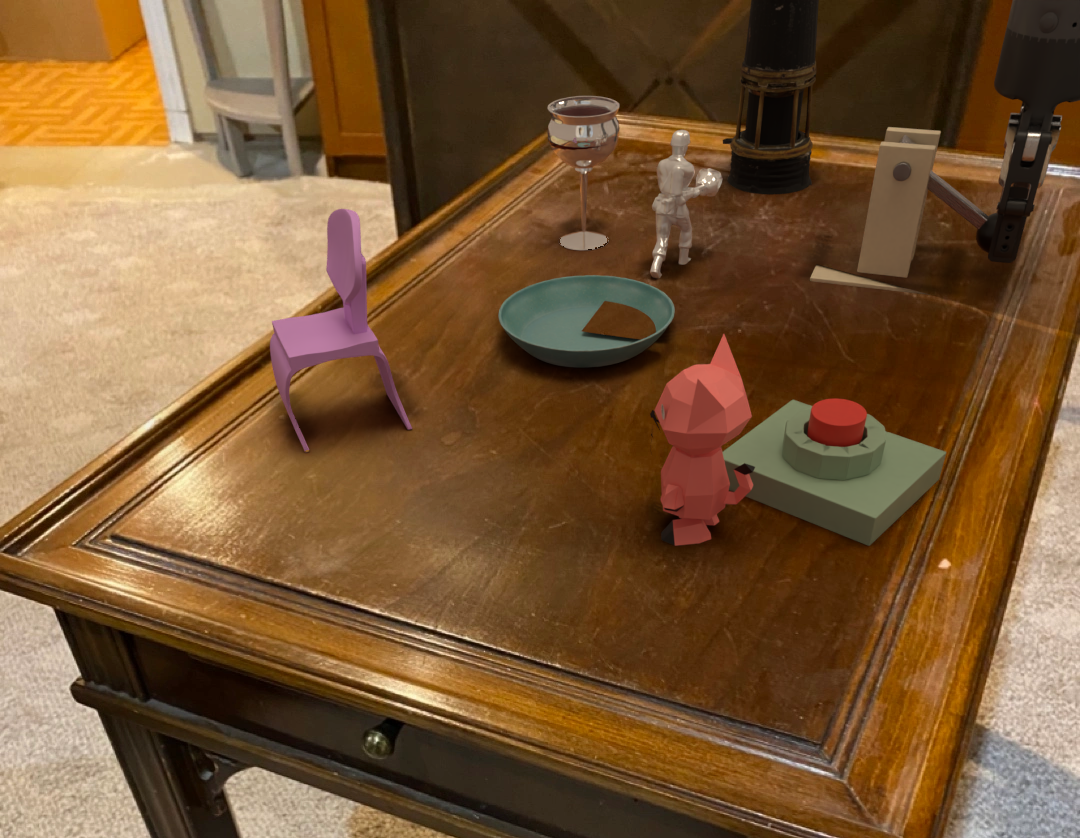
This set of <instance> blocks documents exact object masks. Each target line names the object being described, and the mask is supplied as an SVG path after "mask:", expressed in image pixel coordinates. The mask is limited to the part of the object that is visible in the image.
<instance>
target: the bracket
mask: <svg viewBox="0 0 1080 838" xmlns="http://www.w3.org/2000/svg"><path fill="white" fill-rule="evenodd" d="M941 133H942V131H941V130H935V129H934V130H932V129H920V128H918V129H917V128H907V127H894V126H893V127H892V126H888V127H887V129H886V131H885V136H884V140H883V141H881V142H880V144H879V148H878V153H877V159H876V165H875V170H874V175H873V181H872V186H871V193H870V197H869V203H868V208H867V213H866V220H865V226H864V229H863V235H862V242H861V248H860V253H859V258H858V264H857V270H856V272H857V273H861V274H871V275H872V274H873V275H881V276H887V277H898V278H906V279H907V278H908V276H909V272H910V268H911V263H912V261H914V257H915V253H916V249H917V244H918V239H919V234H920V230H921V225H922V220H923V216H924V213H925V212H924V211H925V207H926V202H927V197H928V193H929V190H928V189H927V185H928V181H929V176H930V171H931V170H932V171H933V170H934V169H933V168H934V165H935V160H936V157H937V150H938V146H939V142H940V137H941ZM904 135H906V136H908V137H909V138H910V139H911V140H913V141H914V142H915V143H916V144H908V143H898V142H899V141H900V140H901V139H902V137H903V136H904ZM809 282H812V283H813V282H814V283H824V284H830V285H831V284H832V285H841V286H849V287H850V286H851V287H857V288H865V289H874V290H876V289H877V290H885V291H892V292H899V293H900V292H901V293H910V294H919V295H928V296H931V294H930V293H926V292H923V291H918V290H915V289H911V288H908V287H903V286H900V285H896V284H892V283H888V282H885V281H881V280H879V279H878V280H877V279H874V278H870V277H867V276H863V275H860V274H859V275H858V274H854V273H851V272H849V271H845V270H844V271H843V270H839V269H836V268H832V267H829V266H826V265H821V264H817V263H816V265H815V266H814V269H813V271H812V273H811V275H810V277H809Z"/></svg>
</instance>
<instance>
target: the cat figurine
mask: <svg viewBox="0 0 1080 838" xmlns="http://www.w3.org/2000/svg"><path fill="white" fill-rule="evenodd" d="M649 415H650V418H651V419H653V421H654V423H655V425H656V426H657V428H658V430H659V431H660V434H661V433H662V432H661V429H662V431H663V434H664V435H665V438H666V440H667V443H668V444H669V445H671V446H672V447H671V448H670V451H669V453H668V455H667V457H666V459H665V461H664V464H663V465H662V467H661V469H660V485H661V486H660V487H661V488H660V490H661V496H660V502H661V506H662V511H663V512H665V513H667V514H671V515H673V516H677V517H678V518H677V519H672V520H671V521H670V522H669V524H667V526H666V527H665V528H664V529H663V530H662V531H661V532H660V537H661V539H660V540H661V541H663V542H664V543H668V544H670V545H672V546H686V545H695V544H697V545H698V544H701V543H704V542H707V541H710V540H712V533H711V531H710V530H709V528H708V526H716V525H717V524H719V523H720V519H719V517H718V514H719V513H721V511H723V510H725V509H726V505H738V504H739V503H740V502H741V501H742V500H743V499H744V498H746V495H747V494H748V493H749V492H750V491H751V489H752V487H753V483H752V480H751V478H750V475H749V473H752V472H753V471H754V469H755V467H754V466H751V465H748V464H746V463H744V464H742V465H740V466H739V467H737V468H735V469H734V472H735V475H736V478H737V480H738V483H739V487H738V488H737V489H736V491H735V492H733V491H731V490H729V486H730V481H729V477H728V474H727V470H726V466H725V461H724V457H723V448H722V447H723V446H724V445H725V444H727V443H728V442H730V441H731V440H733V439H734V438H736V437H738V436H739V435H740V434H741V433H742V432H743V431H744V429H745V427H746V426H747V424H748V423H749V421H750V420H751V419H752V417H753V415H752V412H751V407H750V403H749V400H748V395H747V392H746V389H745V386H744V382H743V379H742V376H741V373H740V371H739V369H738V366H737V363H736V360H735V358H734V355H733V352H732V350H731V347H730V345H729V343H728V340H727V337H726V335H725V333H723V334H722V337H721V339H720V341H719V344H718V345H717V347H716V350H715V352H714V355H713V357H712V359H711V361H710V363H701V364H700V363H699V364H697V363H696V364H693V365H691V366H688V367H687V368H685V369H683V370H681V371H680V372H679V373H677V374H676V375H675V376H674V377H672V379H670V380H669V381H668V382H666V384H665V386H664V388H663V390H662V393H661V395H660V397H659V400H658V401H657V404H656V406H655V407H654V409H652V410H651V412H650V413H649ZM659 424H660V426H659ZM660 427H661V429H660ZM651 429H654V426H652V428H651ZM653 433H654V431H653V430H651V431H650V436H651V438H650V439H651V440H650V443H652V442H653V441H652V440H653V438H654V436H653ZM649 447H650V449H649V450H650V454H651V455H653V454H652V451H651V448H652V446H649Z"/></svg>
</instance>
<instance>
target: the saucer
mask: <svg viewBox="0 0 1080 838" xmlns="http://www.w3.org/2000/svg"><path fill="white" fill-rule="evenodd" d="M604 302H609V303H615V304H620V305H624V306H627V307H630V308H633V309H635V310H637V311H640V312H642V314H643V313H644V314H645V315H646V316H647V317H649V318H650V320H651V321H652V322H653V324H654V327H655V332H654V333H652V334H650V335H648V336H647V337H644V338H641V339H640V338H632V337H627V336H626V337H625V336H618V335H612V334H611V335H610V334H602V333H596V332H590V331H589V332H588V331H583V330H584V329H585V328H586V326H587V325H588V323H589V322H590V321H591V319H592V318H593V317H594V315H595V314H596V313H597V312H598V310H599V309H600V308H601V307H602V305H603V304H604ZM675 312H676V308H675V304H674V303H673V300H672V299H671V298H670V296H669V295H668V294H666V293H665V292H664V291H663V290H661V289H659V288H657V287H656V286H653V285H651V284H648V283H646V282H643V281H639V280H636V279H632V278H627V277H619V276H614V275H599V274H598V275H597V274H592V275H591V274H586V275H572V276H562V277H555V278H551V279H548V280H547V279H546V280H543V281H539V282H535V283H533V284H530V285H527V286H526V287H523V288H522V289H519V290H517V291H515V292H514V293H512V294H511V295H510V296H508V297H507V298H506V299H505V300H504V301H503V303H502V304H501V305H500V307H499V310H498V313H497V314H498V322H499V325H501V328H503V331H504V332H505V333H506V335H507V336H508V337H509V338H510V339H511V340H512V341H513V342H514V343H516V345H517V346H518V347H520V349H522V350H524V351H525V352H526V353H528V354H529V355H531V356H532V357H534V358H535V359H537V360H540V361H542V362H545V363H547V364H549V365H554V366H559V367H566V368H576V369H577V368H579V369H580V368H581V369H582V368H584V369H586V368H587V369H588V368H599V367H607V366H611V365H612V366H613V365H615V364H618V363H622V362H625V361H628V360H630V359H632V358H635V357H637V356H638V355H640V354H641V353H643V352H644V351H646V350H647V349H648V348H649V347H651V346H652V345H653V344H655V342H656V341H658V339H659V338H660V337H661V336H662V335H663V334H664V333H665V331H666V330H667V329H668V327H669V326H670V324H671V323H672V321H673V319H674V317H675Z"/></svg>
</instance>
